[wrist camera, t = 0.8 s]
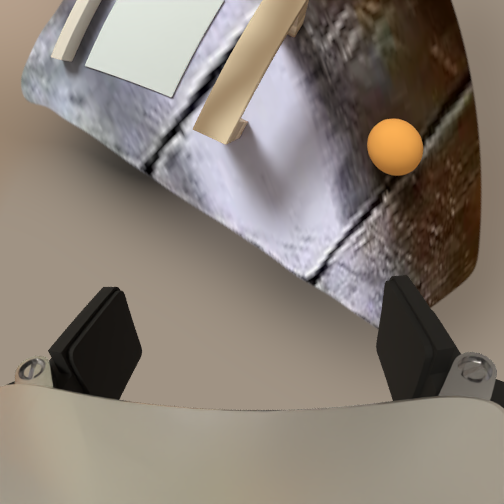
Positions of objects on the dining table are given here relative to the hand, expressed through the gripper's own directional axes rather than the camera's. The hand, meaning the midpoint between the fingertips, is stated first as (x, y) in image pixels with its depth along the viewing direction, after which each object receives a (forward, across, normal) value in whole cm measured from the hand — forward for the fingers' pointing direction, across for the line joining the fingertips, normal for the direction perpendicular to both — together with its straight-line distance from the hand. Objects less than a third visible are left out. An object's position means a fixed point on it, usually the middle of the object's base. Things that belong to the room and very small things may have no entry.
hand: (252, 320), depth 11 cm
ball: (+23, -13, -4) cm, 27 cm away
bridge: (+26, 0, -12) cm, 29 cm away
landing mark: (+26, +12, -19) cm, 35 cm away
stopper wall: (+26, +21, -25) cm, 42 cm away
